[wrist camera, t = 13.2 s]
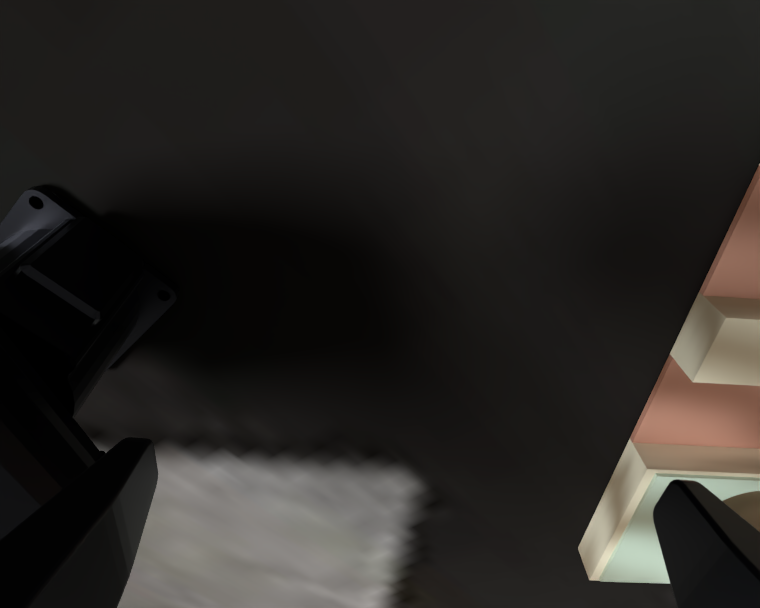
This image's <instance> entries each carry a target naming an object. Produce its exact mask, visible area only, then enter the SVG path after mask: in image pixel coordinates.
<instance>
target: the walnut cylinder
mask: <svg viewBox="0 0 760 608" xmlns="http://www.w3.org/2000/svg"><path fill="white" fill-rule="evenodd" d="M723 502H724V503H725V504H727V505H728V506H729V507H730V508H731V509H733V510H734V511H735V512H736V513H738V514H739V515H740V516H741V517H742V518H744V519H745V520H746V521H747V522H749V523H750V524H751V525H752V526H753V527H755V528H756V529H757V530H758V531H759V532H760V491H754V492H747V493H743V494H739V495H736V496H733V497H730V498H728V499H726V500H723Z"/></svg>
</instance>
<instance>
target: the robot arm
mask: <svg viewBox="0 0 760 608" xmlns="http://www.w3.org/2000/svg"><path fill="white" fill-rule="evenodd" d="M35 196H36V197H38V198H40V199H41V200H42V201H43V204H44V205H41V204H39V203H38V202H37V201H36V200H35ZM161 290H165V291H167V292H168V293H169V294H170V296H166V295H164V294H163V293H162V292H161ZM178 296H179V289H178V287H177V286H176V285H175V284H174V283H173V282H172V281H170V280H169V279H168V278H166V277H165V276H164V275H162V274H161V273H160V272H158V271H157V270H156V269H154V268H153V267H151V266H150V265H149V264H147V263H146V262H145V261H143V260H142V258H141V257H140V256H138V255H137V254H136V253H134V252H133V251H132V250H130V249H129V248H128V247H126V246H125V245H124V244H122V243H121V242H120V241H118V240H117V239H116V238H114V237H113V236H112V235H110V234H109V233H108V232H106V231H105V230H104V229H102V228H101V227H100V226H98V225H97V224H96V223H94V222H93V221H92V220H90V219H89V218H87V217H84V216H83V215H82V214H80V213H79V212H78V211H76V210H75V209H74V208H72V207H71V206H70V205H68V204H67V203H66V202H64V201H63V200H62V199H60V198H59V197H57V196H56V195H55V194H53V193H52V192H51V191H49V190H48V189H46V188H44V187H41V186H34V187H32V188H30V189H28V190H27V191H25V192H24V193H23V194H22V195H21V197H20V198H19V200H18V201H17V202H16V204H15V205H14V206H13V208H12V209H11V210H10V212H9V213H8V214H7V216H6V217H5V219H4V220H3V221H2V223H1V224H0V608H117V606H118V604H119V601H120V599H121V596H122V594H123V592H124V589H125V586H126V584H127V581H128V579H129V576H130V573H131V569H132V566H133V563H134V560H135V556H136V553H137V550H138V546H139V543H140V539H141V536H142V533H143V529H144V526H145V522H146V519H147V516H148V512H149V509H150V505H151V502H152V499H153V495H154V492H155V489H156V485H157V479H158V469H157V463H156V457H155V450H154V445H153V442H152V441H151V440H150V439H145V438H132V437H129V438H125V439H123V440H122V441H120V442H119V443H118V444H117V445H115V446H114V447H113V448H112V449H110V450H109V451H108V452H107V453H105V452H104V451H99V450H98V449H97V447H96V446H95V445H94V444H93V442H92V441H91V440H90V438H89V437H88V436H87V435H86V433H85V432H84V431H83V430H82V428H81V427H80V426H79V425H78V423H77V422H76V421H75V420H74V417H75V415H76V414H77V412H78V411H79V409H80V408H81V406H82V405H83V403H84V402H85V400H86V399H87V397H88V396H89V394H90V393H91V391H92V390H93V388H94V387H95V385H96V384H97V382H98V381H99V379H100V378H101V376H102V375H103V373H104V372H105V371H106V370H107V369H108V368H109V367H110V366H111V365H112V364H113V363H114V362H115V361H116V360H117V359H118V358H119V357H120V356H121V355H122V354H123V353H124V352H125V351H126V350H127V349H128V348H129V347H130V346H131V345H133V344H134V343H135V342H136V341H137V340H138V339H139V338H140V337H141V336H142V335H143V334H144V333H145V332H146V331H147V330H148V329H149V328H150V327H151V326H152V325H153V324H154V323H155V322H156V321H157V320H158V319H159V318H160V317H161V316H162V315H163V314H164V313H165V312H166V311H167V310H168V309H169V308H170V307H171V306H172V305H173V304H174V302H175V301H176V299H177V297H178ZM653 521H654V525H655V529H656V533H657V536H658V540H659V544H660V547H661V551H662V555H663V558H664V562H665V566H666V570H667V573H668V577H669V581H670V584H671V588H672V592H673V595H674V598H675V602H676V605H677V608H760V532H759V531H758V530H757V529H756V528H755V527H753V526H752V525H751V524H750V523H749V522H747V521H746V520H745V519H744V518H742V517H741V516H740V515H739V514H738V513H736V512H735V511H734V510H733V509H731V508H730V507H729V506H728V505H727V504H725V503H724V502H723V501H722V500H720V499H719V498H718V497H717V496H716V495H714V494H713V493H712V492H711V491H709V490H708V489H707V488H706V487H705V486H703V485H702V484H701V483H699V482H696V481H692V480H679V479H676V480H673V481H671V482H670V483H669V484H668V486H667V488H666V489H665V491H664V492H663V494H662V495H661V497H660V499H659V500H658V502H657V503H656V505H655V507H654V510H653Z"/></svg>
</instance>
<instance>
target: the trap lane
mask: <svg viewBox="0 0 760 608" xmlns="http://www.w3.org/2000/svg"><path fill="white" fill-rule="evenodd" d="M676 479H679V480H692V481H696V482H699V483H701V484H702V485H703V486H705V487H706V488H707V489H708V490H709V491H711V492H712V493H713V494H714V495H716V496H717V497H718V498H719V499H720V500H722V501H723V500H726V499H728V498H730V497H733V496H736V495H739V494H743V493H747V492H754V491H760V164H759V166H758V168H757V170H756V172H755V175H754V177H753V179H752V181H751V183H750V185H749V187H748V189H747V191H746V194H745V196H744V198H743V200H742V202H741V204H740V206H739V208H738V211H737V213H736V215H735V217H734V219H733V221H732V223H731V225H730V227H729V230H728V232H727V234H726V236H725V238H724V240H723V242H722V244H721V246H720V249H719V251H718V253H717V255H716V257H715V259H714V261H713V263H712V266H711V268H710V270H709V272H708V274H707V276H706V278H705V280H704V282H703V285H702V287H701V289H700V291H699V293H698V295H697V297H696V299H695V301H694V304H693V306H692V308H691V310H690V312H689V314H688V316H687V318H686V321H685V323H684V325H683V327H682V329H681V331H680V333H679V335H678V337H677V340H676V342H675V344H674V346H673V348H672V350H671V352H670V354H669V356H668V359H667V361H666V363H665V365H664V367H663V369H662V371H661V373H660V376H659V378H658V380H657V382H656V384H655V386H654V388H653V390H652V392H651V395H650V397H649V399H648V401H647V403H646V405H645V407H644V409H643V411H642V414H641V416H640V418H639V420H638V422H637V424H636V426H635V428H634V431H633V433H632V435H631V437H630V439H629V441H628V443H627V445H626V447H625V450H624V452H623V454H622V456H621V458H620V460H619V462H618V464H617V466H616V469H615V471H614V473H613V475H612V477H611V479H610V481H609V483H608V485H607V488H606V490H605V492H604V494H603V496H602V498H601V500H600V502H599V505H598V507H597V509H596V511H595V513H594V515H593V517H592V519H591V521H590V524H589V526H588V528H587V530H586V532H585V534H584V536H583V538H582V540H581V543H580V545H579V547H578V550H579V553H580V555H581V558H582V561H583V564H584V567H585V569H586V572H587V575H588V578H589V580H600V581H605V582H637V583H670V581H669V577H668V573H667V570H666V566H665V562H664V558H663V555H662V551H661V547H660V544H659V540H658V536H657V533H656V529H655V525H654V521H653V510H654V507H655V505H656V503H657V502H658V500H659V499H660V497H661V495H662V494H663V492H664V491H665V489H666V488H667V486H668V484H669V483H670V482H671V481H673V480H676Z"/></svg>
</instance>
